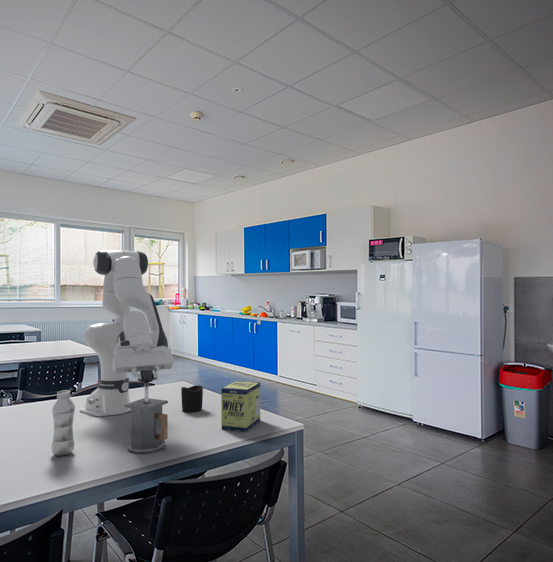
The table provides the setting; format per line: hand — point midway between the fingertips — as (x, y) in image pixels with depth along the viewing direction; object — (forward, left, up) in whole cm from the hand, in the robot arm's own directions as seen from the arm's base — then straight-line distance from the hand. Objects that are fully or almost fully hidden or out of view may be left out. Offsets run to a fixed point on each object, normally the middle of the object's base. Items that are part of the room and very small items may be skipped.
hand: (147, 379), depth 144 cm
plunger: (-1, +1, -16) cm, 16 cm away
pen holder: (-13, +45, -23) cm, 52 cm away
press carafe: (-1, +1, -23) cm, 23 cm away
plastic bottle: (-21, -15, -23) cm, 35 cm away
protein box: (+17, +35, -23) cm, 45 cm away
